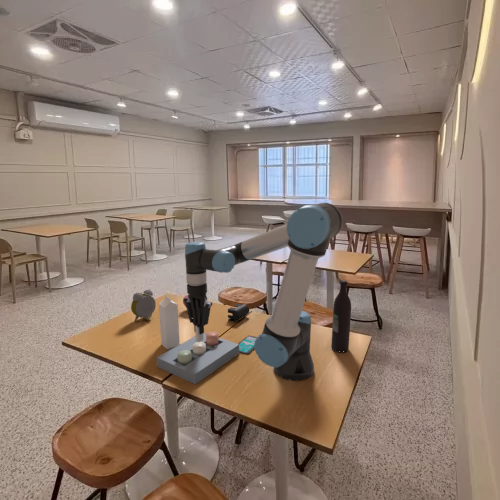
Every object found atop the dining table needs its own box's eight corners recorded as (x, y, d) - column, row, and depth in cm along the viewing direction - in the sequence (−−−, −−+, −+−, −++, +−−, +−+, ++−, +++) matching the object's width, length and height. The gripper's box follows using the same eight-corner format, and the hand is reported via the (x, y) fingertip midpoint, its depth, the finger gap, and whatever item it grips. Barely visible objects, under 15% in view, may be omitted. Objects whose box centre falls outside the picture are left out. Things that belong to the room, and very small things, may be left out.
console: (239, 353, 139) (239, 344, 138) (195, 384, 118) (194, 374, 117) (203, 340, 150) (202, 332, 149) (157, 366, 129) (156, 357, 129)
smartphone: (264, 338, 150) (248, 353, 138) (264, 340, 151) (248, 355, 138) (248, 334, 154) (230, 348, 142) (248, 336, 155) (230, 350, 142)
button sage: (194, 362, 128) (194, 352, 127) (184, 368, 124) (184, 358, 123) (184, 358, 131) (184, 348, 130) (174, 364, 127) (174, 354, 126)
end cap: (238, 324, 167) (238, 311, 166) (227, 320, 171) (227, 308, 170) (249, 317, 176) (249, 304, 174) (238, 314, 179) (238, 302, 178)
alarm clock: (151, 314, 179) (149, 287, 176) (159, 317, 175) (157, 290, 172) (131, 321, 170) (129, 293, 167) (139, 325, 166) (137, 296, 163)
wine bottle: (335, 343, 147) (338, 277, 141) (350, 347, 143) (355, 280, 137) (328, 349, 142) (332, 281, 135) (345, 354, 138) (349, 284, 131)
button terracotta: (221, 342, 141) (221, 333, 140) (213, 347, 136) (213, 338, 136) (212, 339, 143) (211, 330, 143) (203, 344, 139) (203, 335, 138)
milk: (166, 349, 142) (163, 300, 138) (161, 344, 147) (157, 296, 142) (180, 345, 146) (177, 297, 141) (174, 340, 151) (171, 293, 146)
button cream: (208, 353, 134) (208, 344, 134) (199, 359, 130) (199, 349, 129) (199, 349, 137) (198, 340, 136) (190, 355, 133) (189, 345, 132)
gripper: (216, 283, 127) (218, 341, 132) (191, 277, 134) (194, 333, 139) (202, 288, 121) (205, 348, 126) (177, 282, 128) (180, 340, 133)
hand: (199, 340), depth 132 cm, fingers closed
